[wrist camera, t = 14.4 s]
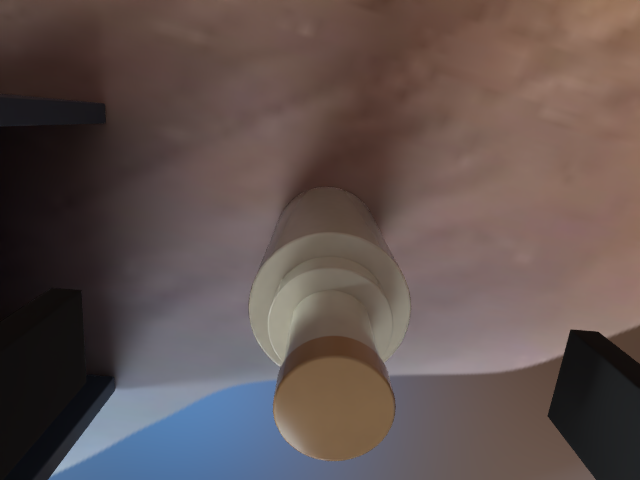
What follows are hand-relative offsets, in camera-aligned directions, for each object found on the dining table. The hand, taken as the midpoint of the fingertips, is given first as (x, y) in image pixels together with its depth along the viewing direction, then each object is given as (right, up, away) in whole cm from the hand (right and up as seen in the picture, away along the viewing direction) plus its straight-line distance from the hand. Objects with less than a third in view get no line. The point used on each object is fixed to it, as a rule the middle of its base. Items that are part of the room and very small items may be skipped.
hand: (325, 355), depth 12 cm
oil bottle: (0, +3, +13) cm, 13 cm away
